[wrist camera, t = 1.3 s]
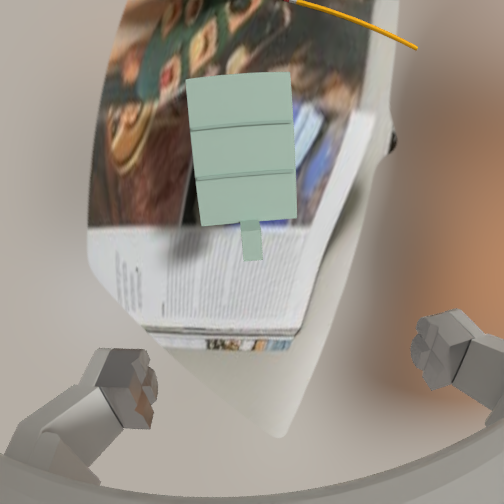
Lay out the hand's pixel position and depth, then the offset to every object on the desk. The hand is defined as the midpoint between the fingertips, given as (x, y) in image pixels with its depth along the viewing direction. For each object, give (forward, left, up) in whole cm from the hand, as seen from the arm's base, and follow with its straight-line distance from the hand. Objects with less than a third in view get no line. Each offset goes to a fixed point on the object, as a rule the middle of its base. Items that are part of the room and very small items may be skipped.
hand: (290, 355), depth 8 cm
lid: (-2, 0, -23) cm, 23 cm away
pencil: (-19, +15, -30) cm, 38 cm away
